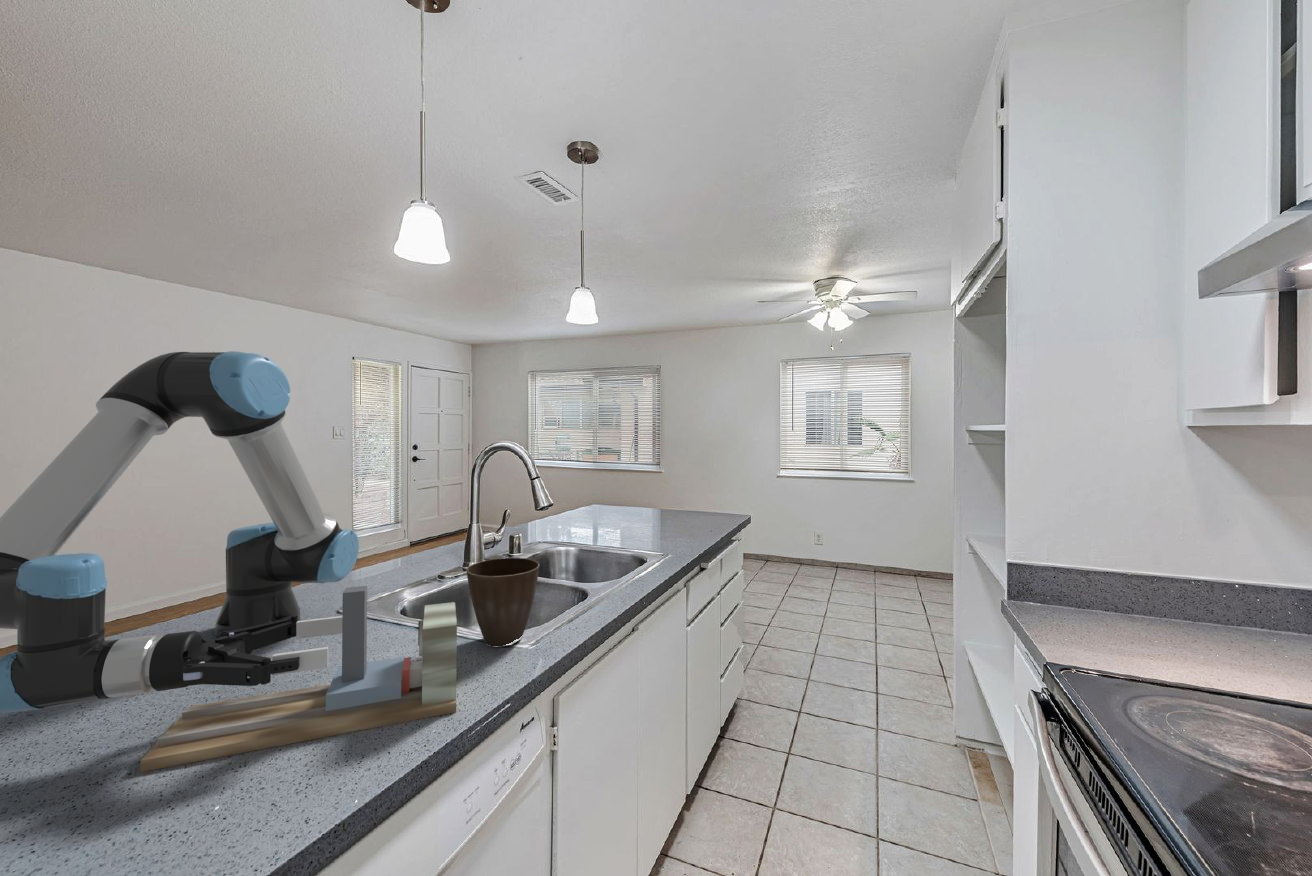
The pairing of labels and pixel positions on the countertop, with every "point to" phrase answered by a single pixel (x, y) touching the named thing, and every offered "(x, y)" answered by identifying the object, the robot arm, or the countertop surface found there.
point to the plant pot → (502, 597)
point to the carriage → (361, 661)
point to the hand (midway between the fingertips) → (336, 639)
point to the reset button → (411, 675)
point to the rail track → (312, 707)
